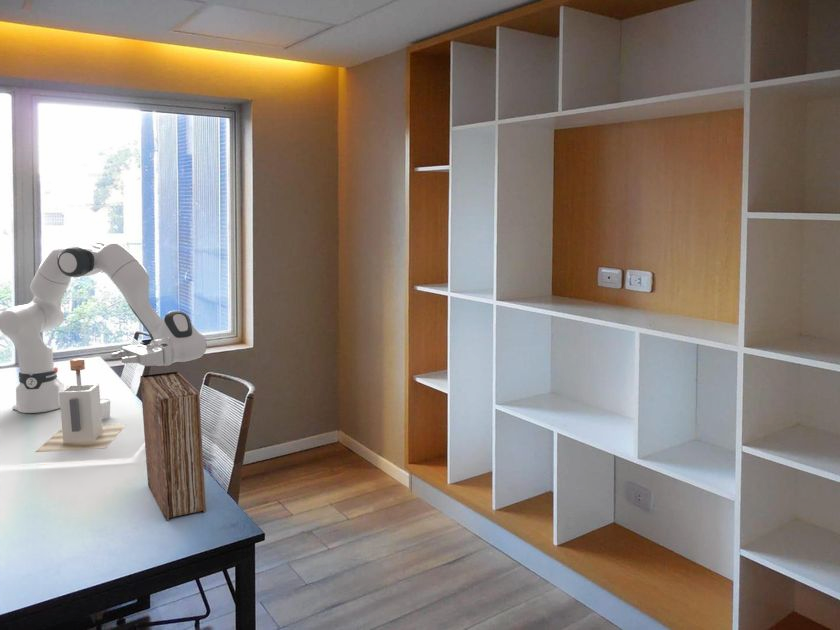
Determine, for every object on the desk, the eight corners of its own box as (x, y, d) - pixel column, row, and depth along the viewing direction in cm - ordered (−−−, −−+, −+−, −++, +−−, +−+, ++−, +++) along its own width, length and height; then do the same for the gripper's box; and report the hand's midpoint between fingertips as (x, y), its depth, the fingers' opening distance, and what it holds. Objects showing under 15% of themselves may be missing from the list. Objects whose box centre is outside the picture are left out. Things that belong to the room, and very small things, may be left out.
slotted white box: (73, 433, 226) (69, 385, 223) (102, 432, 227) (98, 384, 225) (60, 444, 215) (56, 394, 213) (91, 443, 216) (87, 392, 214)
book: (206, 513, 169) (199, 392, 164) (166, 522, 164) (158, 397, 160) (183, 478, 191) (177, 371, 186) (147, 485, 186) (140, 375, 181)
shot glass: (103, 424, 240) (102, 404, 239) (85, 423, 241) (84, 403, 240) (116, 418, 246) (114, 399, 245) (98, 417, 248) (97, 398, 247)
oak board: (63, 430, 233) (63, 427, 232) (126, 427, 235) (126, 424, 235) (35, 455, 209) (34, 451, 209) (105, 452, 212) (105, 448, 212)
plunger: (76, 430, 224) (70, 358, 221) (96, 429, 225) (90, 357, 222) (69, 436, 218) (63, 362, 215) (90, 435, 219) (84, 361, 216)
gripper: (146, 339, 243) (105, 344, 234) (171, 347, 228) (127, 353, 219) (147, 356, 244) (106, 363, 235) (172, 366, 229) (129, 373, 220)
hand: (116, 358), depth 226 cm, fingers open, 8 cm apart
